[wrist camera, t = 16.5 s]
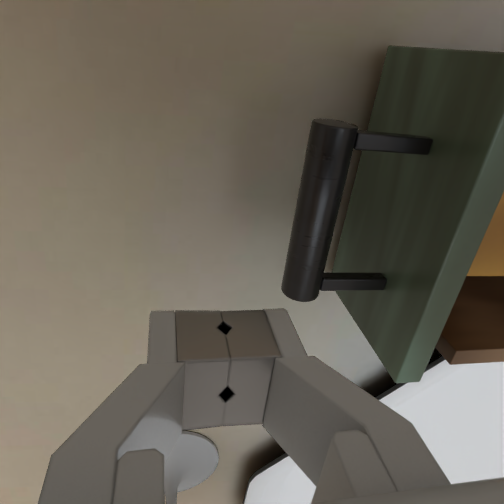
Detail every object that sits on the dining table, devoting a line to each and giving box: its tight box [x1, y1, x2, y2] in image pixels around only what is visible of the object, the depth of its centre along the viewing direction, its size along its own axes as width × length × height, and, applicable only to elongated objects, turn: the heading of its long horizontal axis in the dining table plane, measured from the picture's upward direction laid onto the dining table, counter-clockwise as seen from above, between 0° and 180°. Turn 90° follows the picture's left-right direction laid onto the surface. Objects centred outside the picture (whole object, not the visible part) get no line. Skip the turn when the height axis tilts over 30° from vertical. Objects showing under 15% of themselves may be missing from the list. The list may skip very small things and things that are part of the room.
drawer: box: [281, 46, 504, 383], centre depth 18 cm, size 19×12×8 cm, turn 83°
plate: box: [243, 356, 504, 504], centre depth 36 cm, size 29×29×2 cm
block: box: [467, 192, 504, 276], centre depth 18 cm, size 4×4×4 cm
